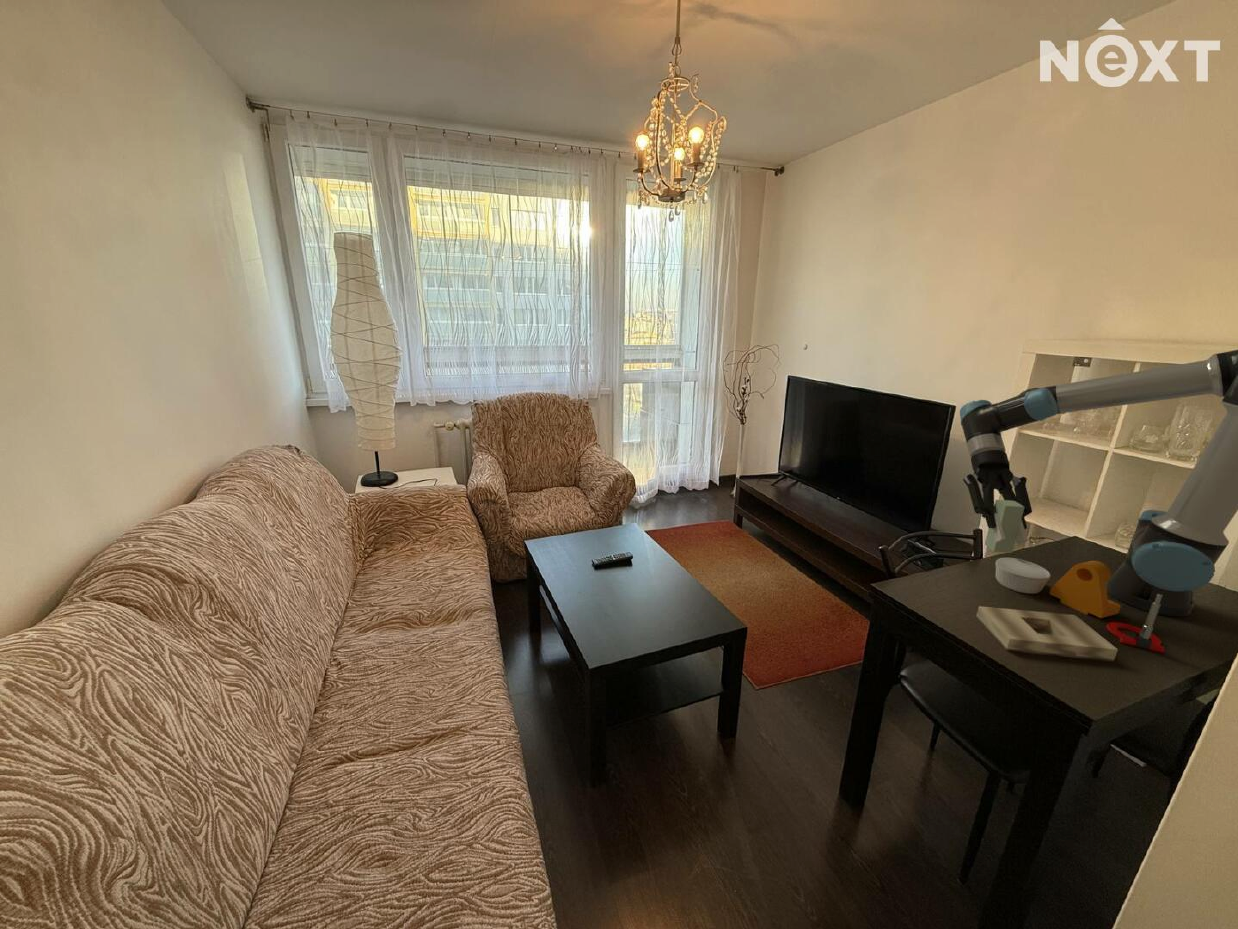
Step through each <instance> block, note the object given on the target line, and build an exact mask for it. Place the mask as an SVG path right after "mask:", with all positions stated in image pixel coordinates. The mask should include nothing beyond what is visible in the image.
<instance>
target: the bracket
mask: <svg viewBox="0 0 1238 929" xmlns="http://www.w3.org/2000/svg"><path fill="white" fill-rule="evenodd" d="M1111 576H1112V572H1111V569H1110V568H1109V567H1108V565H1107V564H1105V562H1102V561H1099V560H1089V561H1086V562H1080V563H1076V564H1075V565H1073V566H1072V567H1071V568H1070V569H1069V570H1068V571H1067V572H1065V574H1064V575H1063V576H1061V577H1060V579H1058V580H1057V581H1056V582H1055V583H1054V584H1053V585H1052V586H1051V588H1050V591H1049V595H1051V596H1053V597H1055V598H1057V599H1060V603H1062V604H1063V605H1066V606H1068V607H1070V608H1072V609H1075V610H1076V611H1078V612H1080V613H1082V614H1085V615H1093V616H1095V617H1097V618H1099V619H1103V618H1107V617H1112V616H1114V615H1117V614H1119V612H1120V610H1121V607H1122V605H1121V604H1119V603H1117V602H1115V601H1113V600H1110V599H1109V597H1108V592H1107V589H1106V582H1108V581H1109V580H1110V578H1111Z"/></svg>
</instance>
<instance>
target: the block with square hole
mask: <svg viewBox="0 0 1238 929" xmlns="http://www.w3.org/2000/svg"><path fill="white" fill-rule="evenodd" d="M975 618H976V619H977V620H978V622H980V624H981V625H983V627H984V628H985V629H986V630H987V631H988V632H989V634H991V636H993V638H994V639H995V640H996V641H997V642H998V643H999V644H1000V645H1001V647H1002V648H1003V649H1004V650H1005V651H1006V652H1018V653H1025V654H1033V655H1035V654H1036V655H1043V656H1044V655H1045V656H1054V657H1055V656H1056V657H1063V658H1064V657H1065V658H1072V659H1073V658H1075V659H1082V660H1092V661H1103V662H1112V663H1113V662H1114V661H1115V659H1116V656H1117V653H1118V652H1119V649H1118V648H1117V647H1115V646H1114V645H1113V644H1112V643H1111V642H1110V641H1108V640H1107V639H1106V638H1104V637H1103V636H1101V635H1100V634H1099V633H1098V632H1097V631H1095V630H1094V629H1093V628H1092V627H1091V626H1090V625H1088V624H1087V623H1086V622H1084V621H1083V620H1082V619H1081V618H1080V617H1078V616H1077V615H1076V614H1067V613H1056V612H1045V611H1035V610H1034V611H1033V610H1025V609H1024V610H1022V609H1012V608H1003V607H992V606H991V607H990V606H981V605H979V606H978V608H977V612H976V616H975Z"/></svg>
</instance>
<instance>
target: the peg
mask: <svg viewBox="0 0 1238 929" xmlns="http://www.w3.org/2000/svg"><path fill="white" fill-rule="evenodd" d="M1023 511H1024V506H1022V505H1021V504H1019V503H1017V502H1015V501H1010V500H1004V499H995V500H994V514H995V513H997V514H999V518H1000V521H1001V525H1002V529H1003V532H1004V536H1005V540H1003V541H1002V542H1000V543H995V540H994V536H993V532H992V528H988V529H987V533H986V538H985V542H984V545H985V547H987V548H988V549H990V550H991V551H992V552H993V553H994V552H995V553H1003V554H1004V553H1008V554H1013V551H1014V547H1015V544H1016V536H1017V533H1018V529H1019V525H1020V522H1021V518H1022V515H1023Z"/></svg>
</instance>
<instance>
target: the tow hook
mask: <svg viewBox="0 0 1238 929" xmlns="http://www.w3.org/2000/svg"><path fill="white" fill-rule="evenodd" d="M1162 596H1163V595H1162V594H1157V596H1156V599H1155V602H1153V603H1152V605H1151V608H1150V611H1148V614H1147V617H1146V619H1145V622H1144V624H1143V625H1142V626H1141V627H1138V626H1135V625H1132V624H1127V623H1124V622H1117V621H1115V622H1114V621H1112V622H1108V623H1107V624H1106V629H1107V631H1109V633H1110V634H1112V635H1114V636H1116V637H1117V638H1118V639H1119V643H1122V644H1126V645H1129V646H1134V647H1135V648H1140V649H1142V650H1147V651H1149V650H1150V651H1154V652H1158V653H1161V654H1163V653H1164V652H1165V647H1164V646H1163V645H1161V644H1162V640H1161V639H1160V638H1159V637H1158V636H1156V635H1155V634H1153V631H1154V624H1155V621H1156V619H1157V616H1158V611H1159V608H1160V606H1161V604H1160V601H1161V599H1162ZM1118 629H1122V630H1128V631H1131V632H1135V633H1136V634H1135V636H1134V638H1132V637H1131V636H1129V635H1127V634H1125V633H1123V632H1121V631H1120V630H1118Z"/></svg>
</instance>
